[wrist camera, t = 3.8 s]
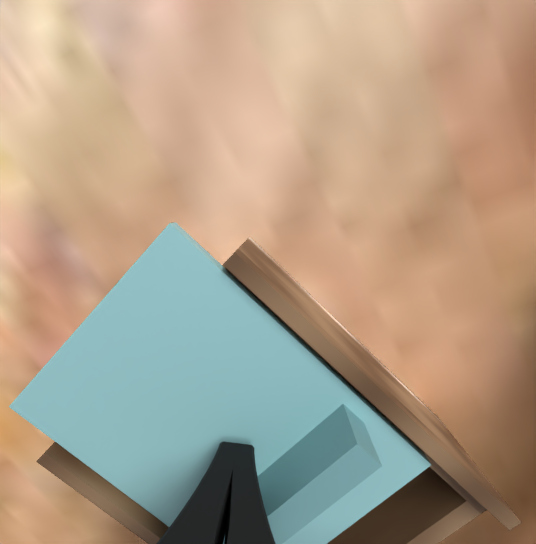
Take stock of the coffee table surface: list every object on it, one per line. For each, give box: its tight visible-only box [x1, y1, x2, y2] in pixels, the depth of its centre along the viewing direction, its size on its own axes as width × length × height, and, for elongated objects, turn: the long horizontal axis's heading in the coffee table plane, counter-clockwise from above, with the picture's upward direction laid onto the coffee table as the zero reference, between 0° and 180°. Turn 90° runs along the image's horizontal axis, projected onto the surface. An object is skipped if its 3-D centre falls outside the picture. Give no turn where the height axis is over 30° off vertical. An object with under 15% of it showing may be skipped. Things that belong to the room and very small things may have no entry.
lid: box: [9, 222, 431, 544], centre depth 11 cm, size 14×10×3 cm
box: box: [36, 237, 522, 544], centre depth 15 cm, size 16×12×6 cm
